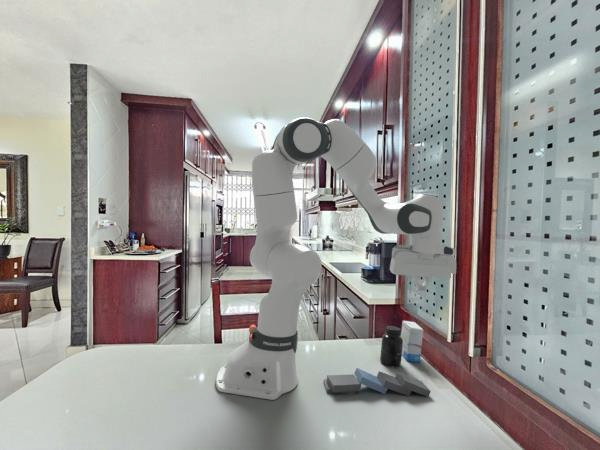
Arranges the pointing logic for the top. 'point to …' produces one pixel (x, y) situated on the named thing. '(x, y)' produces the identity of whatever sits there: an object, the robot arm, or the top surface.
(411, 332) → the ink box
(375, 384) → the domino
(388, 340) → the supplement bottle
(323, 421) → the top surface
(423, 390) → the domino
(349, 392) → the domino
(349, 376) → the domino
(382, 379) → the domino
